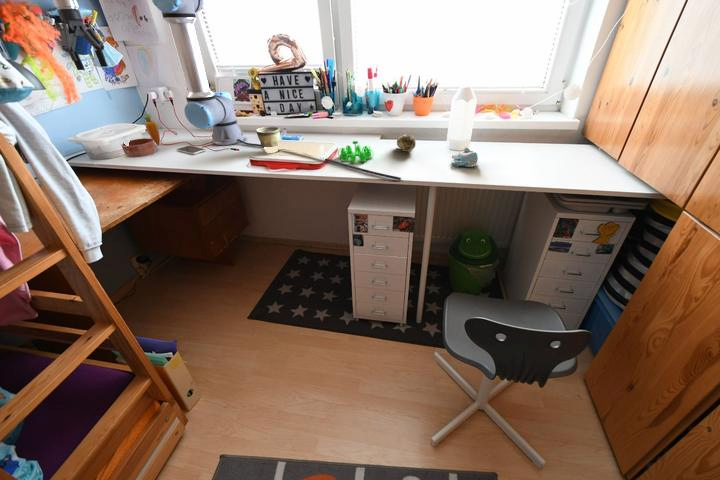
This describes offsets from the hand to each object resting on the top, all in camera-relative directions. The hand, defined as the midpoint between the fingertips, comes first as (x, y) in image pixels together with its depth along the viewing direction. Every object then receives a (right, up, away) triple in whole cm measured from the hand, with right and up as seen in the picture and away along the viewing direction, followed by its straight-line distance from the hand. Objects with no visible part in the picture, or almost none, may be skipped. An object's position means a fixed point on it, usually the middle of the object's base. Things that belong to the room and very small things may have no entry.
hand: (93, 68), depth 141 cm
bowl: (+13, -34, +11) cm, 38 cm away
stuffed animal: (+157, -46, -15) cm, 165 cm away
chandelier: (+115, -41, -5) cm, 122 cm away
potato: (+137, -37, 0) cm, 142 cm away
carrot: (+15, -27, +22) cm, 38 cm away
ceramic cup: (+77, -34, +8) cm, 84 cm away
